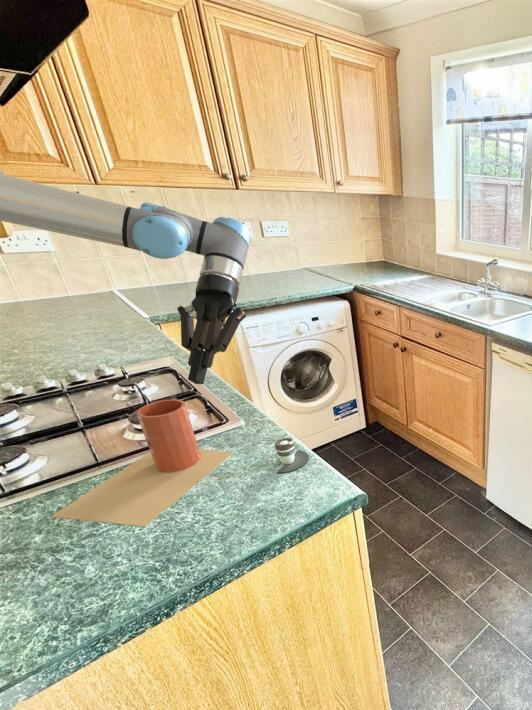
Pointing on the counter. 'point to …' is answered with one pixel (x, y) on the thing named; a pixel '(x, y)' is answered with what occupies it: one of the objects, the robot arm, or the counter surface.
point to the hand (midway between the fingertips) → (195, 381)
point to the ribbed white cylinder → (290, 455)
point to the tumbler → (169, 435)
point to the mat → (140, 491)
